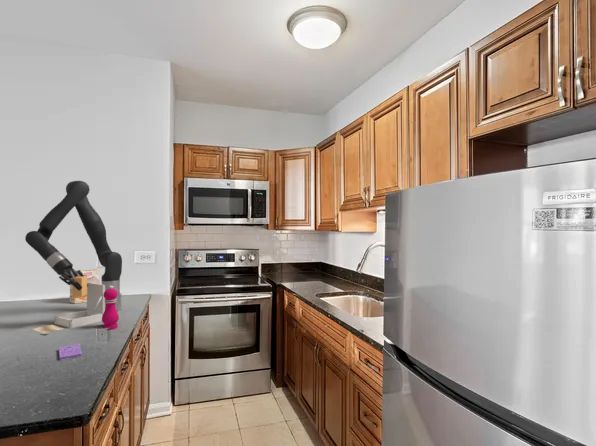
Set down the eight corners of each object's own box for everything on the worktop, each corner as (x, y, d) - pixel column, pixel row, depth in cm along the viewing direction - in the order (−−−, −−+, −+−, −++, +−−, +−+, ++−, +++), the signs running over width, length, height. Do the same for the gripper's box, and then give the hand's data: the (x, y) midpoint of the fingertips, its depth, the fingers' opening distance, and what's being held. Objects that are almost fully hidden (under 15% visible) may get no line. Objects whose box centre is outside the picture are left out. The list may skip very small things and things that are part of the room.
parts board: (52, 326, 174) (52, 324, 174) (65, 330, 168) (65, 328, 168) (30, 331, 166) (30, 329, 166) (43, 335, 160) (43, 333, 160)
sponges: (79, 348, 146) (79, 343, 146) (82, 357, 136) (82, 352, 136) (58, 351, 142) (58, 346, 142) (59, 361, 132) (59, 356, 132)
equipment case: (89, 318, 190) (89, 282, 190) (104, 322, 183) (105, 285, 183) (54, 325, 176) (54, 287, 176) (70, 330, 169) (70, 290, 169)
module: (78, 294, 182) (78, 276, 181) (87, 294, 181) (87, 276, 181) (72, 296, 177) (72, 277, 177) (81, 296, 177) (81, 277, 177)
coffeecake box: (75, 304, 222) (75, 272, 222) (69, 302, 226) (69, 271, 226) (99, 299, 235) (100, 269, 235) (93, 298, 239) (94, 268, 239)
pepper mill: (111, 330, 169) (112, 287, 169) (98, 329, 170) (98, 286, 170) (122, 326, 176) (122, 284, 176) (109, 325, 177) (109, 284, 177)
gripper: (54, 259, 172) (80, 285, 172) (74, 256, 186) (97, 280, 186) (43, 270, 172) (69, 296, 172) (63, 266, 187) (87, 290, 186)
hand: (83, 288), depth 179 cm, fingers closed on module, 4 cm apart
